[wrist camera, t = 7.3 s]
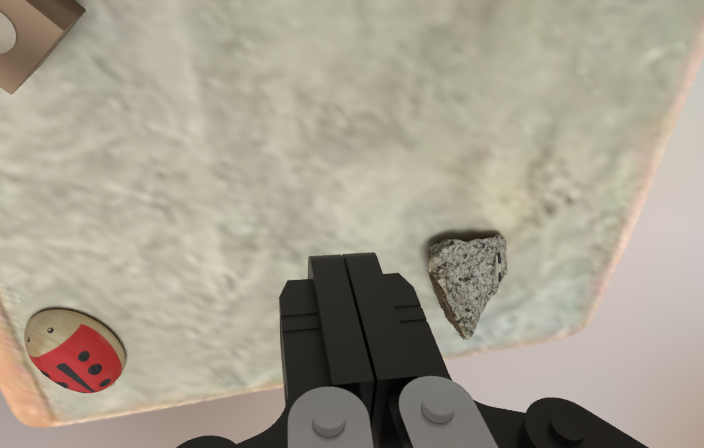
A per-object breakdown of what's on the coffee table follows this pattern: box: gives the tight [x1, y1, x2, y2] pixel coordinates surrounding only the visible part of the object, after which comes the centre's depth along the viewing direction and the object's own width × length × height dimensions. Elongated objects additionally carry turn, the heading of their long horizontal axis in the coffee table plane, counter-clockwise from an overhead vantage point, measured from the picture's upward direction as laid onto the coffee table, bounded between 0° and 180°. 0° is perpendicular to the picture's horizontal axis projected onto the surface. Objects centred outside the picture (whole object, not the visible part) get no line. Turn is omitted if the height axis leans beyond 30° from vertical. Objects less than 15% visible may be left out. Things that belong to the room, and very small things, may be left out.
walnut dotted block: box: [0, 0, 86, 95], centre depth 29 cm, size 5×5×5 cm
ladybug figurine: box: [24, 309, 126, 393], centre depth 45 cm, size 7×10×4 cm
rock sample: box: [428, 234, 507, 340], centre depth 48 cm, size 10×8×9 cm
